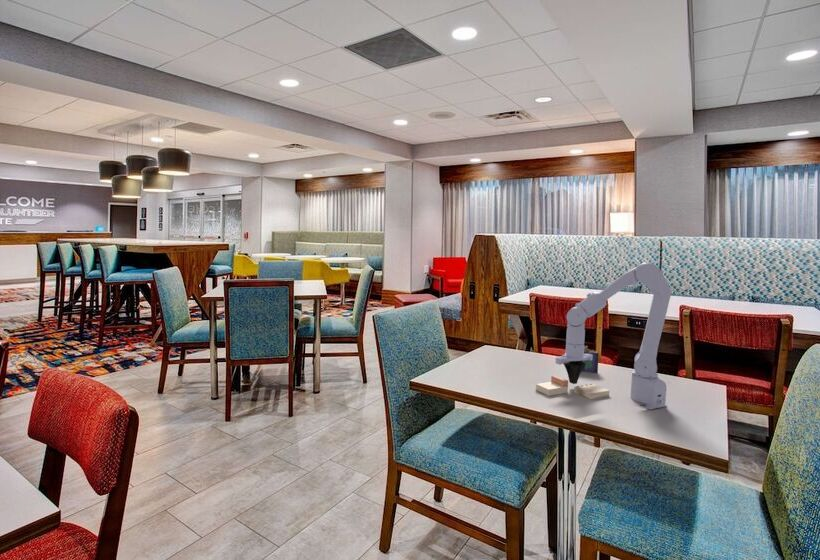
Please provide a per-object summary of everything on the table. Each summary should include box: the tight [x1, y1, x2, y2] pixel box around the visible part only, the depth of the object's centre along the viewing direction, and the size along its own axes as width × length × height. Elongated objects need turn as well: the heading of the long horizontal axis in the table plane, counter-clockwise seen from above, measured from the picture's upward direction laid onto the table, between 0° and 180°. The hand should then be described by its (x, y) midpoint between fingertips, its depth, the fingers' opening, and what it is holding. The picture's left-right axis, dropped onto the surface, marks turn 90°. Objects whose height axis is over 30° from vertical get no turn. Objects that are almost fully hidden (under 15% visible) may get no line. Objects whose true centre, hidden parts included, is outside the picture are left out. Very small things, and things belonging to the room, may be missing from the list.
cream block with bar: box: [535, 374, 569, 397], centre depth 150 cm, size 6×8×4 cm
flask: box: [581, 345, 599, 374], centre depth 173 cm, size 9×3×11 cm, turn 65°
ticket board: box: [573, 383, 610, 400], centre depth 149 cm, size 16×20×3 cm
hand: (573, 382), depth 153 cm, fingers closed
